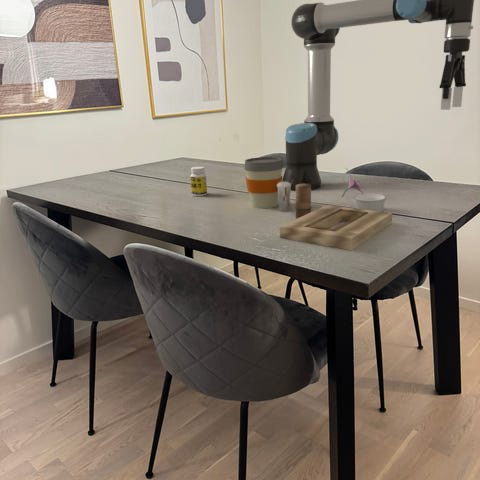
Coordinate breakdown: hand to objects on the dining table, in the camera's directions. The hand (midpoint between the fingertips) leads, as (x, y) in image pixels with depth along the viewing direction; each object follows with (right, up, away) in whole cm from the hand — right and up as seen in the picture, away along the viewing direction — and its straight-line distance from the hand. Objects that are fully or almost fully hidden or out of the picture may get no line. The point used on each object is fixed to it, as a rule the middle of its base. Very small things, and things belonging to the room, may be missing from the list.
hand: (451, 108), depth 158 cm
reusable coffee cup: (-61, -32, +2) cm, 69 cm away
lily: (-30, -29, +8) cm, 42 cm away
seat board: (-43, -41, -29) cm, 67 cm away
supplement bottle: (-85, -27, +22) cm, 92 cm away
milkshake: (-55, -34, -6) cm, 65 cm away
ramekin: (-30, -35, -11) cm, 47 cm away
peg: (-51, -37, -17) cm, 65 cm away
